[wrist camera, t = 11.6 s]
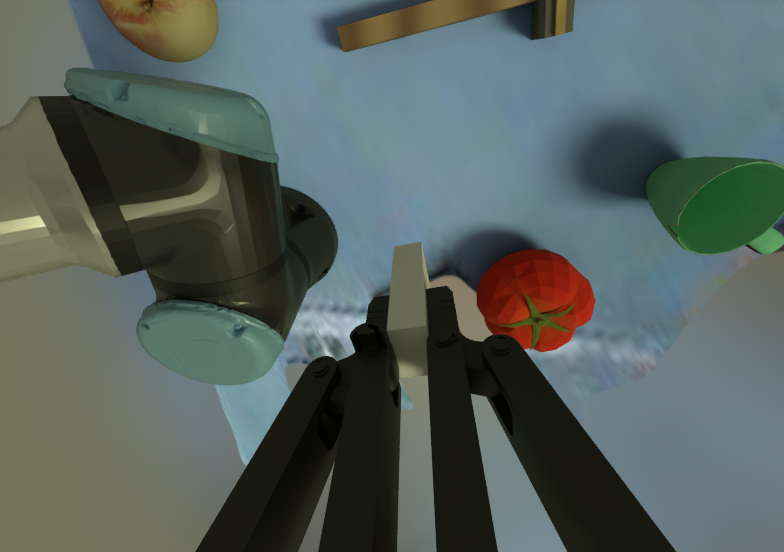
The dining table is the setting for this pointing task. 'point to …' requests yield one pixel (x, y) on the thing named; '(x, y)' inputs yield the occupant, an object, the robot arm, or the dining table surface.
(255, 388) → the dining table surface
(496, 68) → the dining table surface
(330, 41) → the dining table surface
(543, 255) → the tomato
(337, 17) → the dining table surface
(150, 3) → the apple
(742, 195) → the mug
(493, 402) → the robot arm
